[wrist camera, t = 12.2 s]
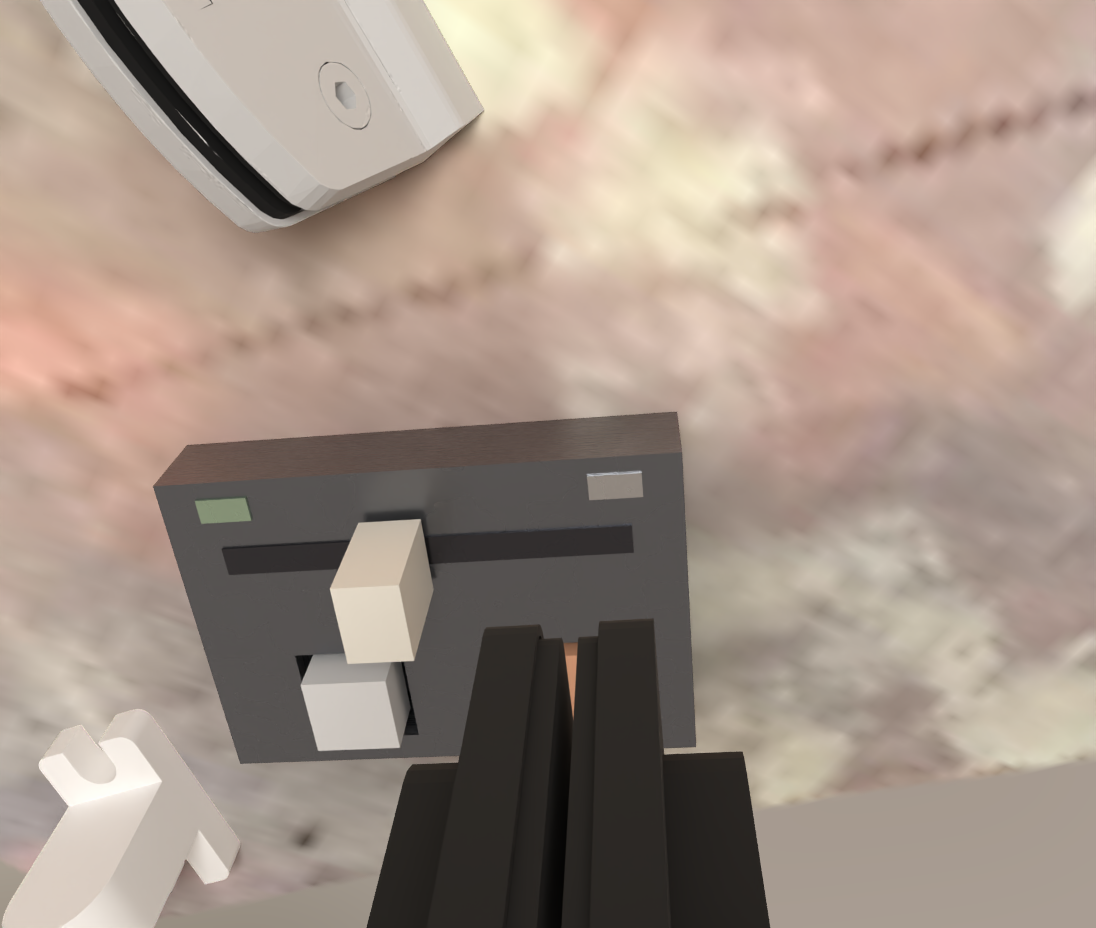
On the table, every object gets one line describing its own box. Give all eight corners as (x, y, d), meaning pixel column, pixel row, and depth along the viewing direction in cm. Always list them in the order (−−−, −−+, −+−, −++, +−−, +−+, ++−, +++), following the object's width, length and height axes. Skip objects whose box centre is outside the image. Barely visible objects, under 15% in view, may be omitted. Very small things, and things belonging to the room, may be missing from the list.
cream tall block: (420, 519, 39) (398, 585, 35) (433, 589, 40) (414, 660, 36) (358, 522, 39) (329, 588, 35) (373, 593, 40) (347, 664, 36)
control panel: (676, 411, 40) (682, 453, 37) (690, 692, 47) (696, 748, 44) (186, 445, 42) (151, 487, 39) (264, 710, 49) (239, 765, 45)
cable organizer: (145, 705, 49) (42, 876, 40) (245, 847, 53) (171, 1031, 44) (53, 732, 50) (-67, 904, 41) (158, 869, 54) (69, 1052, 45)
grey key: (396, 643, 43) (385, 681, 41) (410, 707, 45) (400, 747, 43) (316, 646, 44) (300, 685, 42) (332, 710, 45) (318, 750, 43)
